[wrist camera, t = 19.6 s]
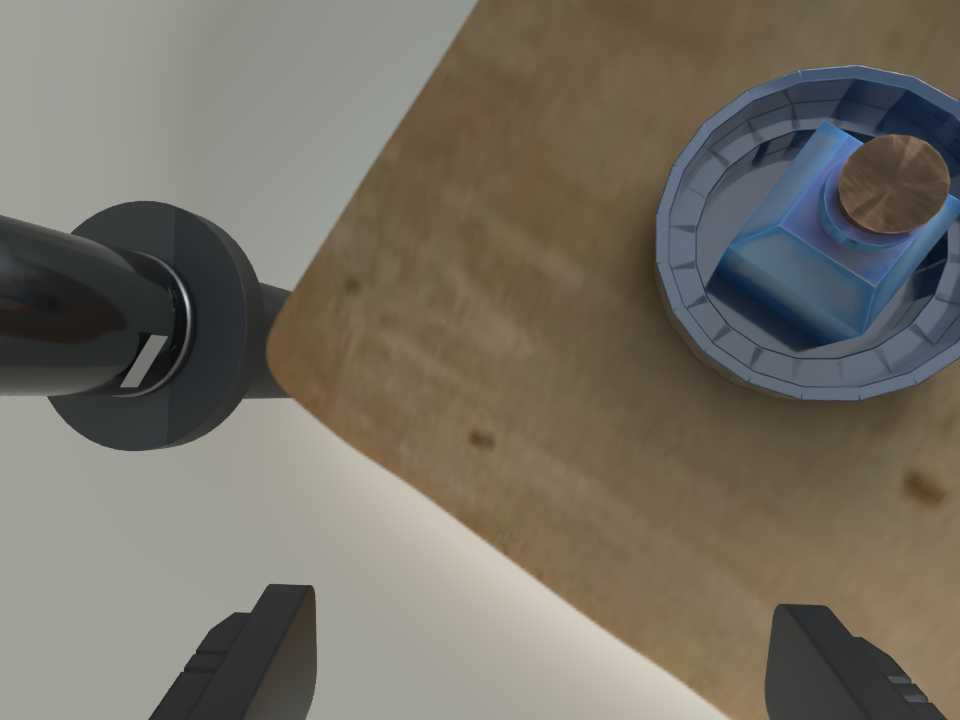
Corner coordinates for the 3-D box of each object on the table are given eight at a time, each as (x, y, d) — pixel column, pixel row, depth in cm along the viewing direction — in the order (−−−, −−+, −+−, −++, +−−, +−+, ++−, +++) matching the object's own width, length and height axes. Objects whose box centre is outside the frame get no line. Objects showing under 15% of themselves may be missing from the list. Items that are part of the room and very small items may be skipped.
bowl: (653, 397, 36) (654, 397, 31) (655, 123, 36) (656, 81, 31) (970, 402, 32) (1027, 404, 27) (965, 100, 33) (1020, 50, 28)
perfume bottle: (908, 239, 33) (1053, 154, 21) (823, 345, 33) (918, 320, 22) (792, 168, 34) (869, 51, 22) (713, 272, 35) (747, 210, 23)
